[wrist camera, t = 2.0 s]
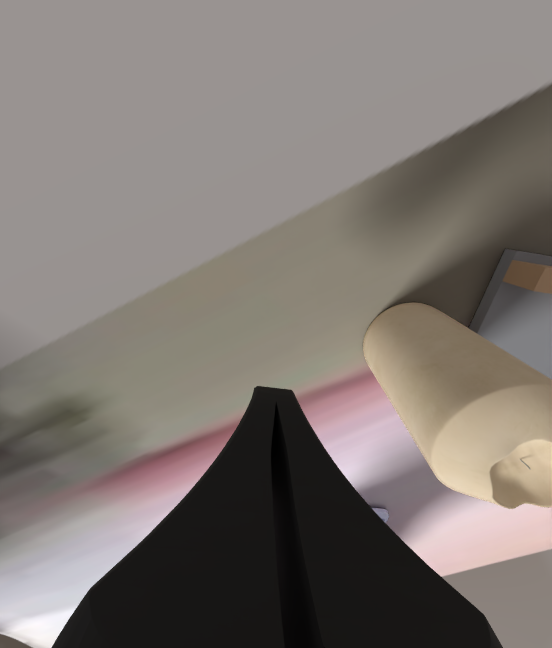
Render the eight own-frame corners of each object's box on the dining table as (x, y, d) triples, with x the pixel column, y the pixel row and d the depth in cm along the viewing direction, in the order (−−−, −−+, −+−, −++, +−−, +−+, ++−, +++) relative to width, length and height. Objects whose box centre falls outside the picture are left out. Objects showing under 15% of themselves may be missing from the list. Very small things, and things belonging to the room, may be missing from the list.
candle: (424, 283, 16) (619, 380, 7) (460, 347, 18) (654, 493, 9) (345, 334, 18) (425, 472, 8) (386, 390, 19) (489, 554, 10)
